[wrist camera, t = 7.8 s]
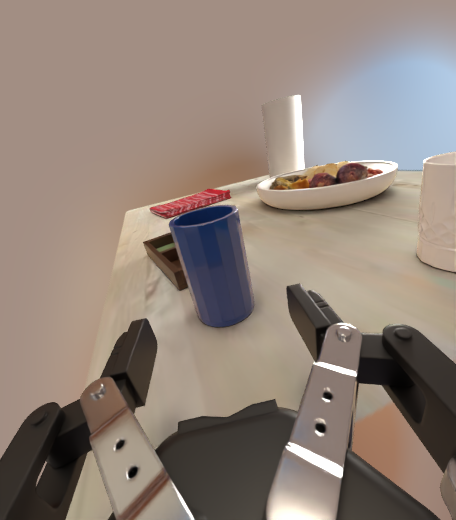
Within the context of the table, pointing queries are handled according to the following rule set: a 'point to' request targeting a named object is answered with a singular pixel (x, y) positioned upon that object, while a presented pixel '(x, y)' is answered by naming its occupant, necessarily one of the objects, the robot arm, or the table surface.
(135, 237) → the table surface
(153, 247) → the holder
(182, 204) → the dish towel
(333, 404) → the robot arm
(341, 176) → the bowl
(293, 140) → the cylinder vase
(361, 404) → the table surface
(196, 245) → the cup
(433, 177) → the white cup
